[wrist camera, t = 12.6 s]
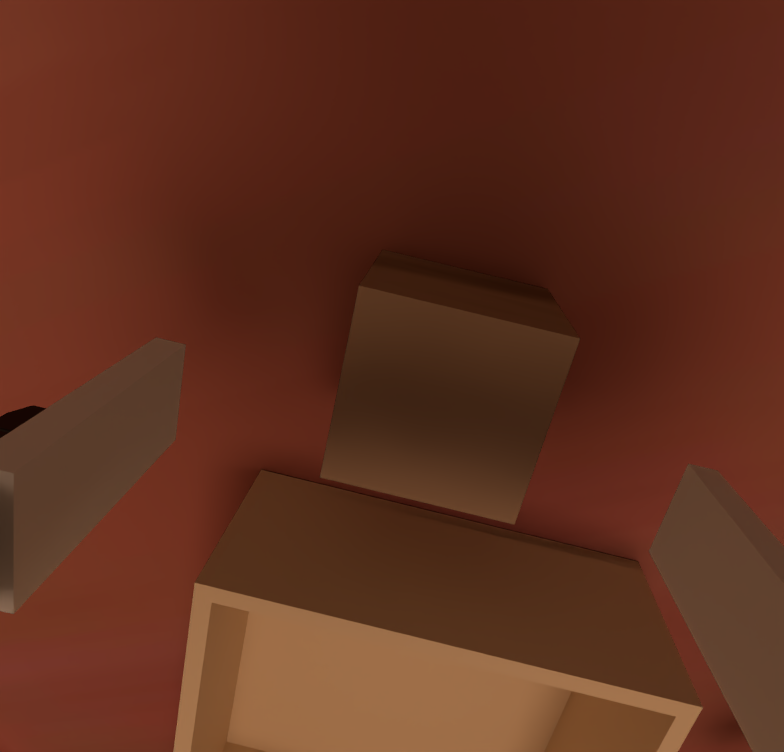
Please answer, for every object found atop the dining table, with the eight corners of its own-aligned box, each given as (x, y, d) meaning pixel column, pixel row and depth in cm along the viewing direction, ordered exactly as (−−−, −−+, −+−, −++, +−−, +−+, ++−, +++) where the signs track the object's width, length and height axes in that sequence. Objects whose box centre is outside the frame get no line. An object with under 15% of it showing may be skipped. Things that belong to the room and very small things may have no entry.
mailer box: (261, 469, 25) (194, 582, 19) (638, 561, 25) (702, 707, 19) (217, 736, 31) (155, 892, 25) (523, 811, 31) (542, 989, 24)
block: (383, 249, 22) (359, 285, 16) (547, 288, 22) (580, 338, 16) (350, 399, 24) (319, 477, 18) (499, 435, 24) (514, 524, 18)
